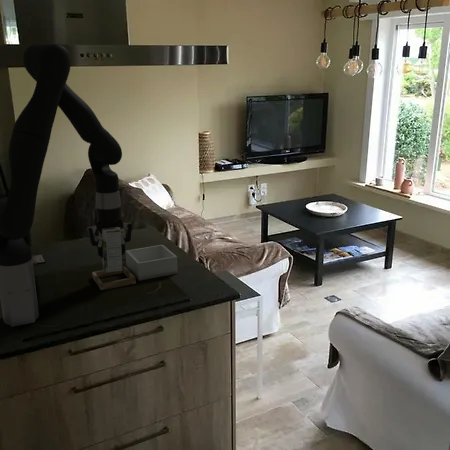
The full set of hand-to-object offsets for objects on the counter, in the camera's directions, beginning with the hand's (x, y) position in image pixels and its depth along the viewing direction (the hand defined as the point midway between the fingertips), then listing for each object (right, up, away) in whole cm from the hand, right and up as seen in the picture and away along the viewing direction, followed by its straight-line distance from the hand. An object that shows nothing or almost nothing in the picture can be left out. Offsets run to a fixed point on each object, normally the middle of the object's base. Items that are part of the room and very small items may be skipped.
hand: (111, 255), depth 167 cm
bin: (+11, -6, +11) cm, 17 cm away
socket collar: (0, -8, +3) cm, 9 cm away
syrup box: (0, -5, +1) cm, 5 cm away
